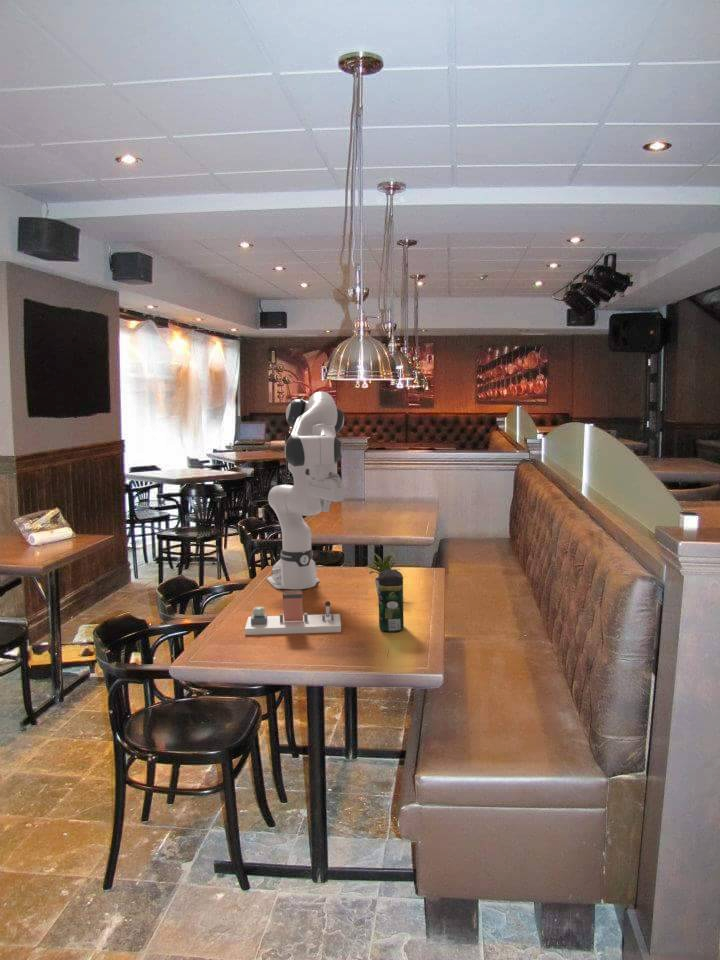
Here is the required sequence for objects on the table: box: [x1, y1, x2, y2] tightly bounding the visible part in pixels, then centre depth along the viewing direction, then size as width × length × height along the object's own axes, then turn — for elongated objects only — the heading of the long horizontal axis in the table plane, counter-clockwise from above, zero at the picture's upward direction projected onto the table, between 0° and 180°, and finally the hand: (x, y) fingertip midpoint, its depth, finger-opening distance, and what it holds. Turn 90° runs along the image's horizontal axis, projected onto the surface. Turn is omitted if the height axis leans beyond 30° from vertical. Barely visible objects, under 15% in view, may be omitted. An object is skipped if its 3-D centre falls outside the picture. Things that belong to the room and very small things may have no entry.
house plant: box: [363, 551, 402, 595], centre depth 269 cm, size 14×14×16 cm
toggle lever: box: [324, 600, 331, 617], centre depth 235 cm, size 2×2×5 cm
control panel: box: [244, 612, 342, 636], centre depth 234 cm, size 12×30×4 cm, turn 93°
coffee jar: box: [377, 568, 405, 633], centre depth 231 cm, size 10×8×19 cm
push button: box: [252, 606, 266, 616], centre depth 233 cm, size 4×4×2 cm
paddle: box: [282, 589, 304, 622], centre depth 230 cm, size 2×6×12 cm, turn 94°
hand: (325, 511), depth 250 cm, fingers closed
